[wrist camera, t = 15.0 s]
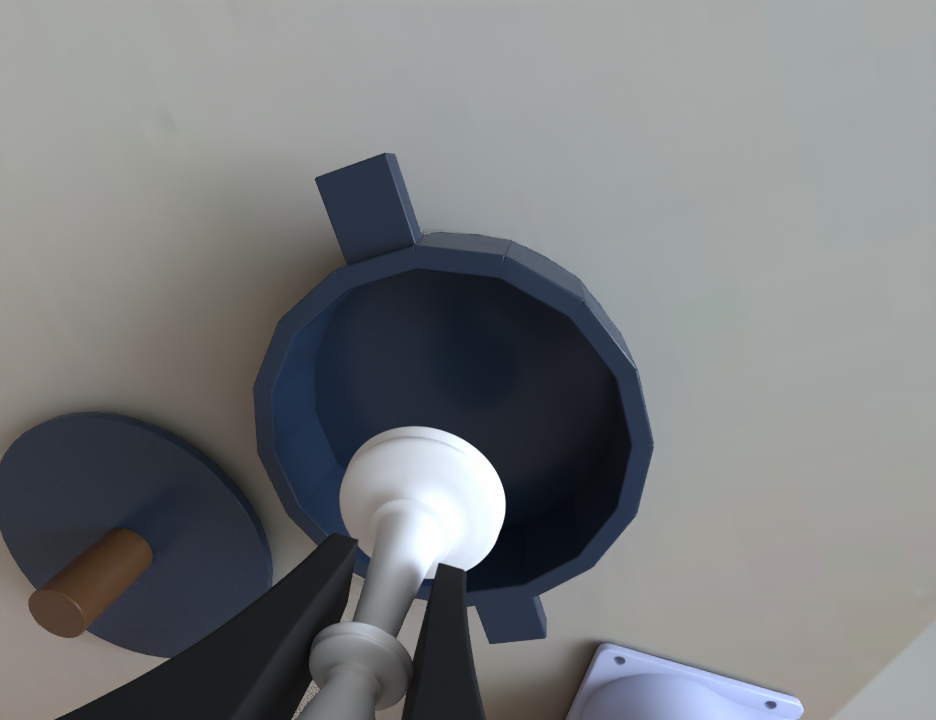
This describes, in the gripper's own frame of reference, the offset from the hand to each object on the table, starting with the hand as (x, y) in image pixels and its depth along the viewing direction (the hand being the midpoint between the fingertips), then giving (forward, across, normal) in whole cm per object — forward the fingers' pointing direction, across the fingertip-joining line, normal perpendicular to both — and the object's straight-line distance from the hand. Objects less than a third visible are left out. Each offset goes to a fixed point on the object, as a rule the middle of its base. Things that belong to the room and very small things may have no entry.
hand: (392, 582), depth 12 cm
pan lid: (+9, +14, +12) cm, 20 cm away
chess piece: (+4, 0, 0) cm, 4 cm away
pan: (+10, 0, 0) cm, 10 cm away
